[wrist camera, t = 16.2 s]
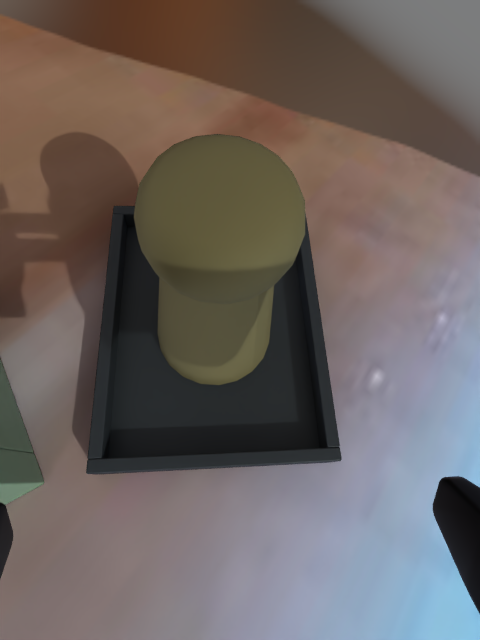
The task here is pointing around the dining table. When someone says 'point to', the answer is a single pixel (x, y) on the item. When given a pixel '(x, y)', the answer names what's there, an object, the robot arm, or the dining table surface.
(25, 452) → the caddy
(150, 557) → the dining table surface
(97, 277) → the dining table surface
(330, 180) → the dining table surface
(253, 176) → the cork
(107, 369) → the tray
